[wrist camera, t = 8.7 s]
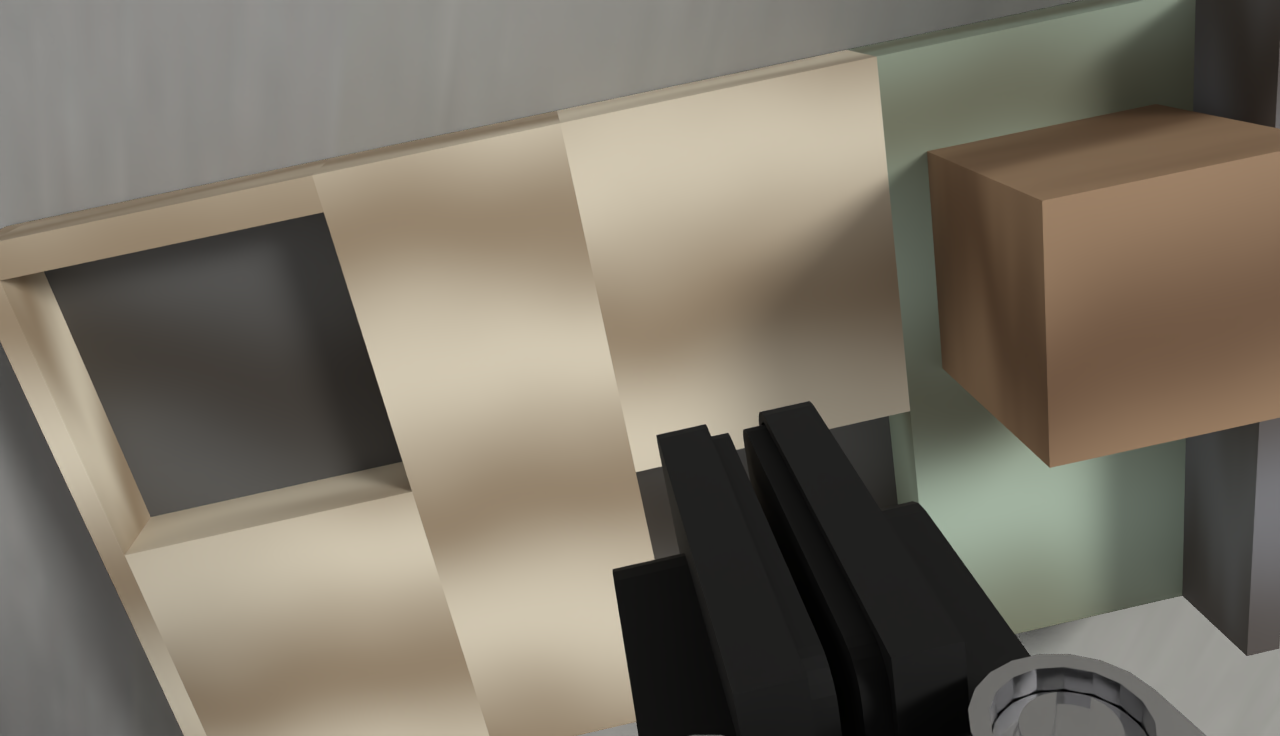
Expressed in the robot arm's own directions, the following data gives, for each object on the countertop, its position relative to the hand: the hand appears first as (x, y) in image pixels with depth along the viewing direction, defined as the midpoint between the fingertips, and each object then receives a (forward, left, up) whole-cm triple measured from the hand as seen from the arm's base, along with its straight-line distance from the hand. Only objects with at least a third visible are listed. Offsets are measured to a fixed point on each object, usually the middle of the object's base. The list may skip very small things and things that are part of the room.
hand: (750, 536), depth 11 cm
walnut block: (+2, +9, -11) cm, 14 cm away
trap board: (+4, 0, -13) cm, 14 cm away
